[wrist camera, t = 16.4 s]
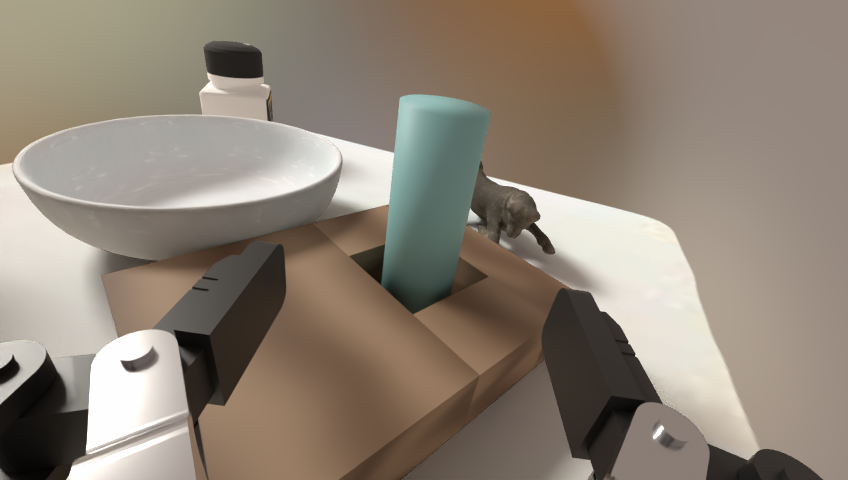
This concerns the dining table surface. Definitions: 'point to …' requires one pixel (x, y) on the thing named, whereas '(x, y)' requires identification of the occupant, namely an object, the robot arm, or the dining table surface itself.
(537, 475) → the dining table surface
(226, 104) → the medicine bottle
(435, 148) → the pin
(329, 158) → the serving bowl
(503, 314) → the socket board
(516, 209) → the dog figurine
